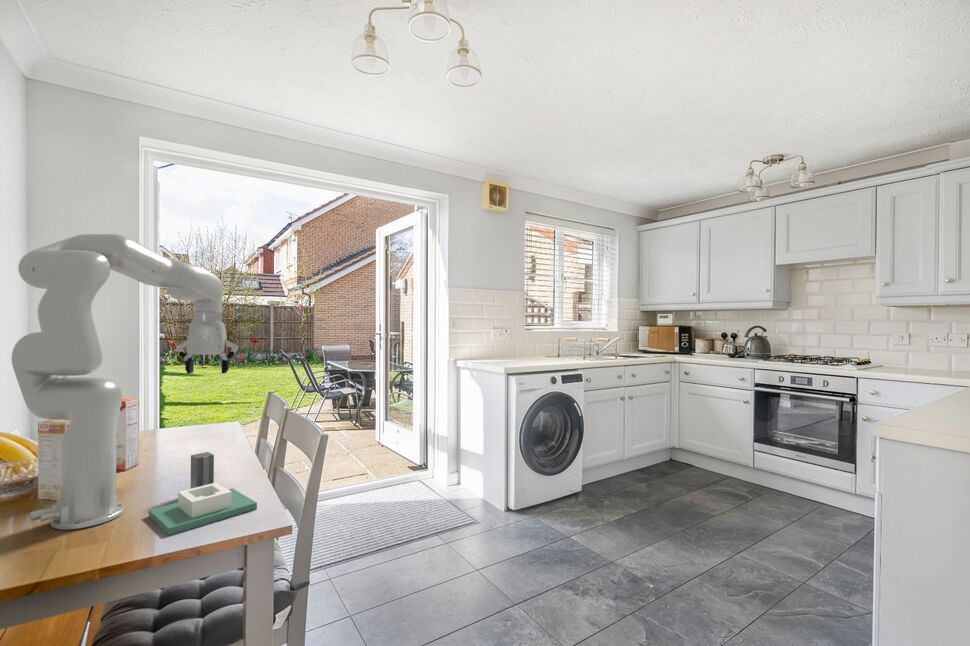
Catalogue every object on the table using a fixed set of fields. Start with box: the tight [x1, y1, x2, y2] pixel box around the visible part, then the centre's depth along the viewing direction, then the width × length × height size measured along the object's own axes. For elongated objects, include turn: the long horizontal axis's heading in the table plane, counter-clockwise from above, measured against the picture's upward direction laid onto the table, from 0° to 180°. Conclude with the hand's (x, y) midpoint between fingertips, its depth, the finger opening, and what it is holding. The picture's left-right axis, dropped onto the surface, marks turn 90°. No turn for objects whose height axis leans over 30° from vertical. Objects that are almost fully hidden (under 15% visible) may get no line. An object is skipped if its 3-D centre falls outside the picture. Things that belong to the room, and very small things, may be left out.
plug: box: [190, 451, 215, 489], centre depth 119 cm, size 4×5×10 cm
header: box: [177, 482, 232, 518], centre depth 107 cm, size 8×9×4 cm
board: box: [148, 487, 258, 536], centre depth 108 cm, size 18×14×2 cm
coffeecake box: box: [37, 419, 71, 501], centre depth 121 cm, size 15×7×20 cm, turn 174°
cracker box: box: [116, 397, 140, 472], centre depth 137 cm, size 14×6×21 cm, turn 92°
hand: (207, 373), depth 143 cm, fingers open, 9 cm apart
